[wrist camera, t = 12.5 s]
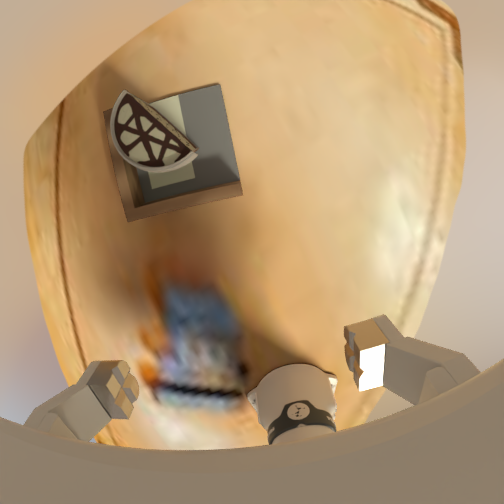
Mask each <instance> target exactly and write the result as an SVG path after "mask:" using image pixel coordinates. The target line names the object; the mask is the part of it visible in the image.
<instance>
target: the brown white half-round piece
mask: <svg viewBox="0 0 504 504" xmlns="http://www.w3.org/2000/svg"><path fill="white" fill-rule="evenodd" d="M110 130H111V136H112V140H113V143H114V145H115V147H116V149H117V151H118V152H119V154H120V155H121V156H122V157H123V158H124V159H125V160H126V161H127V162H128V163H130V164H131V165H133V166H135V167H137V168H139V169H141V170H144V171H148V172H154V173H162V172H169V171H172V170H176V169H179V168H181V167H183V166H185V165H186V164H188V163H189V162H191V161H192V160H194V159H195V158H196V157H197V156H198V154H196V153H195V152H196V151H197V150H198V149H199V148H198V147H197V146H196V145H195V144H194V143H193V142H192V141H191V140H190V139H189V138H188V137H186V136H185V135H184V134H183V133H182V132H181V131H180V130H179V129H178V128H177V127H176V126H174V125H173V124H172V123H171V122H170V121H169V120H168V119H167V118H166V117H165V116H163V115H162V114H161V113H160V112H159V111H158V110H157V109H156V108H154V107H153V106H151V105H150V104H148V103H146V102H144V101H143V100H141V99H139V98H138V97H136V96H134V95H132V94H131V93H129V92H128V91H127V90H123V91H122V93H121V94H120V95H119V97H118V99H117V101H116V102H115V105H114V107H113V110H112V114H111V120H110Z"/></svg>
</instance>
